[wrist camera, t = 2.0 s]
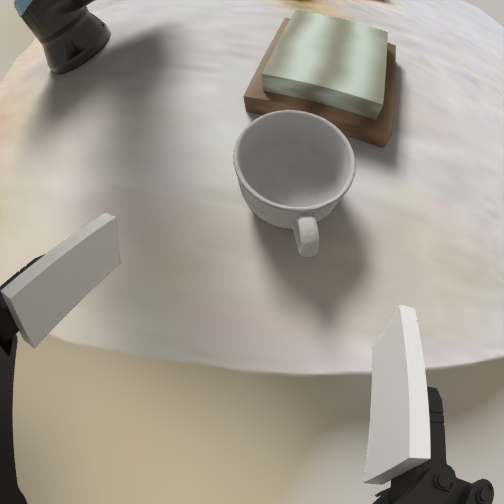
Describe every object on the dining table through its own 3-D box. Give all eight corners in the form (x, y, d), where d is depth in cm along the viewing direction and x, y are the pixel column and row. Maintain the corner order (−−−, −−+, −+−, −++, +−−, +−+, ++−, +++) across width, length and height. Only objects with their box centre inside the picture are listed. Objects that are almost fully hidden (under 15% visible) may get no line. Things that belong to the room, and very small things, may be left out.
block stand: (246, 111, 35) (240, 79, 29) (285, 31, 39) (284, 4, 33) (383, 148, 33) (398, 120, 27) (391, 57, 36) (399, 32, 30)
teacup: (247, 148, 34) (239, 105, 26) (338, 153, 33) (351, 111, 25) (236, 264, 31) (222, 246, 23) (340, 270, 30) (361, 253, 22)
